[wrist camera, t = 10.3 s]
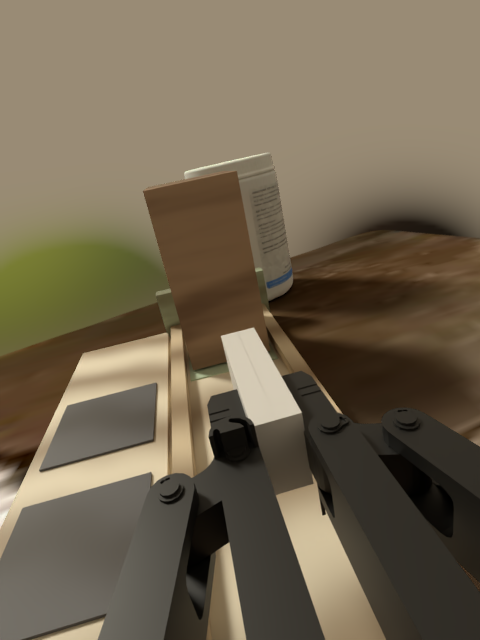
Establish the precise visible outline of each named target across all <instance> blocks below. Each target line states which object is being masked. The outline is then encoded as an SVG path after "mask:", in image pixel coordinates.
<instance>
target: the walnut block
mask: <svg viewBox="0 0 480 640" xmlns="http://www.w3.org/2000/svg"><path fill="white" fill-rule="evenodd" d="M143 193H144V196H145V199H146V203H147V207H148V210H149V214H150V218H151V221H152V224H153V228H154V232H155V235H156V239H157V243H158V246H159V250H160V253H161V257H162V261H163V264H164V268H165V271H166V274H167V278H168V282H169V286H170V289H171V293H172V296H173V300H174V303H175V307H176V311H177V314H178V318H179V321H180V325H181V328H182V332H183V336H184V339H185V343H186V346H187V350H188V353H189V357H190V361H191V364H192V368H193V370H197V369H201V368H205V367H208V366H212V365H216V364H220V363H224V362H227V360H226V355H225V351H224V347H223V343H222V339H221V336H222V335H226V334H230V333H234V332H238V331H242V330H246V329H250V328H254V329H255V331H256V332H257V334H258V336H259V338H260V339H261V341H262V343H263V345H264V346H265V348H266V350H267V351H270V346H269V341H268V335H267V330H266V325H265V319H264V314H263V308H262V303H261V298H260V292H259V287H258V282H257V276H256V271H255V265H254V260H253V255H252V249H251V244H250V238H249V233H248V228H247V222H246V217H245V212H244V206H243V201H242V195H241V190H240V185H239V179H238V174H237V171H221V172H217V173H212V174H207V175H203V176H198V177H194V178H189V179H184V180H180V181H175V182H170V183H166V184H161V185H157V186H152V187H148V188H146V189H145V190H144V191H143Z"/></svg>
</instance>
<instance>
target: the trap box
mask: <svg viewBox="0 0 480 640" xmlns="http://www.w3.org/2000/svg"><path fill="white" fill-rule="evenodd" d="M255 271H256V276H257V282H258V287H259V292H260V298H261V303H262V308H263V314H264V319H265V325H266V330H267V335H268V341H269V346H270V351H267V352H268V354H269V355H270V357H271V359H272V361H273V362H274V364H275V366H276V368H277V369H278V371H279V373H280V375H281V376H283V375H287V374H291V373H295V372H298V371H303V372H305V373H307V374H309V375H311V376H312V377H313V379H314V380H315V382H316V383H317V385H318V386H319V387H320V389H321V391H323V393H324V394H325V396H326V397H327V398H328V400H329V401H330V403H331V404H332V405H333V407H334V408H335V410H336V411H337V412H338V413H341V411H340V410H339V408H338V407H337V406H336V404H335V403H334V401H333V400H332V399H331V397H330V396H329V394H328V393H327V392H326V390H325V389H324V387H323V386H322V385H321V383H320V382H319V380H318V379H317V378H316V376H315V375H314V373H313V372H312V371H311V369H310V368H309V366H308V365H307V364H306V362H305V361H304V359H303V358H302V357H301V355H300V354H299V352H298V351H297V350H296V348H295V347H294V345H293V344H292V343H291V341H290V340H289V338H288V337H287V336H286V334H285V333H284V331H283V330H282V329H281V327H280V326H279V324H278V323H277V322H276V320H275V319H274V317H273V316H272V315H271V313H270V308H269V302H268V296H267V291H266V285H265V280H264V274H263V270H262V269H261V268H260V267H259V268H255ZM156 298H157V301H158V305H159V308H160V311H161V315H162V318H163V321H164V325H165V328H166V331H167V333H164V334H160V335H156V336H152V337H148V338H144V339H140V340H136V341H132V342H128V343H124V344H119V345H115V346H111V347H107V348H103V349H99V350H95V351H91V352H87V353H83V355H82V357H81V359H80V361H79V363H78V366H77V368H76V370H75V372H74V374H73V376H72V378H71V380H70V382H69V385H68V387H67V389H66V391H65V393H64V395H63V397H62V399H61V402H60V404H59V406H58V408H57V410H56V412H55V414H54V416H53V419H52V421H51V423H50V425H49V427H48V429H47V431H46V433H45V436H44V438H43V440H42V442H41V444H40V446H39V448H38V450H37V453H36V455H35V457H34V459H33V461H32V463H31V465H30V467H29V470H28V472H27V474H26V476H25V478H24V480H23V482H22V484H21V487H20V489H19V491H18V493H17V495H16V497H15V499H14V501H13V504H12V506H11V508H10V510H9V512H8V514H7V516H6V518H5V520H4V523H3V525H2V527H1V529H0V640H98V637H99V634H100V631H101V628H102V625H103V622H104V619H105V616H106V614H107V611H108V608H109V605H110V602H111V599H112V596H113V593H114V590H115V587H116V584H117V581H118V578H119V575H120V572H121V569H122V566H123V564H124V561H125V558H126V555H127V552H128V549H129V546H130V543H131V540H132V537H133V534H134V531H135V528H136V525H137V522H138V519H139V516H140V514H141V511H142V508H143V505H144V502H145V499H146V496H147V493H148V492H149V490H150V488H151V486H152V485H154V484H155V483H156V482H157V481H158V480H159V479H161V478H163V477H165V476H166V475H170V474H174V473H184V474H186V475H188V476H190V477H191V478H192V477H194V476H196V475H198V474H199V473H201V472H202V471H204V470H205V469H206V468H207V467H208V466H209V465H210V464H211V462H212V461H213V459H214V454H213V451H212V447H211V444H210V440H209V437H208V436H209V430H210V429H211V425H210V419H209V414H208V408H207V404H208V402H209V400H210V397H211V396H213V395H217V394H221V393H224V392H228V391H232V390H234V389H233V385H232V381H231V376H230V372H229V368H228V364H227V362H224V363H220V364H216V365H212V366H208V367H205V368H201V369H197V370H193V368H192V364H191V361H190V357H189V353H188V350H187V346H186V343H185V339H184V336H183V332H182V328H181V325H180V321H179V318H178V314H177V311H176V307H175V303H174V300H173V296H172V293H171V289H167V290H163V291H159V292H156ZM341 414H342V413H341ZM312 478H313V484H311V485H308V486H304V487H301V488H298V489H294V490H291V491H288V492H284V493H281V494H278V495H276V497H277V500H278V503H279V506H280V509H281V512H282V515H283V518H284V521H285V524H286V526H287V529H288V532H289V535H290V538H291V541H292V544H293V547H294V550H295V553H296V556H297V559H298V561H299V564H300V567H301V570H302V573H303V576H304V579H305V582H306V585H307V588H308V591H309V593H310V596H311V599H312V602H313V605H314V608H315V611H316V614H317V617H318V620H319V623H320V625H321V628H322V631H323V634H324V637H325V640H386V638H385V636H384V634H383V632H382V630H381V627H380V625H379V623H378V621H377V619H376V617H375V615H374V613H373V610H372V608H371V606H370V604H369V602H368V600H367V598H366V595H365V593H364V591H363V589H362V587H361V585H360V583H359V580H358V578H357V576H356V574H355V572H354V570H353V568H352V566H351V563H350V561H349V559H348V557H347V555H346V553H345V551H344V548H343V546H342V544H341V542H340V540H339V538H338V536H337V534H336V531H335V529H334V527H333V525H332V523H331V521H330V519H329V516H328V514H327V512H326V510H325V512H326V515H323V516H322V511H321V505H320V499H319V493H318V486H317V482H316V480H315V478H314V476H313V474H312ZM206 640H246V635H245V629H244V624H243V618H242V612H241V606H240V601H239V595H238V589H237V584H236V578H235V572H234V566H233V561H232V555H231V549H230V543H227V544H226V545H224V546H223V547H221V548H220V549H219V550H217V551H216V561H215V569H214V578H213V586H212V595H211V603H210V612H209V620H208V629H207V637H206Z"/></svg>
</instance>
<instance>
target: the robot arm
mask: <svg viewBox="0 0 480 640" xmlns="http://www.w3.org/2000/svg"><path fill="white" fill-rule="evenodd" d="M221 339H222V343H223V347H224V351H225V355H226V360H227V364H228V368H229V372H230V376H231V381H232V385H233V389H234V390H232V391H228V392H224V393H221V394H217V395H213V396H211V397H210V400H209V402H208V404H207V408H208V414H209V419H210V425H211V429H210V430H209V436H208V437H209V440H210V444H211V447H212V451H213V454H214V459H213V461H212V462H211V464H210V465H209V466H208V467H207V468H206V469H205V470H204V471H202V472H201V473H199V474H198V475H196V476H194V477H192V478H191V477H190V476H188V475H186V474H184V473H174V474H170V475H166V476H165V477H163V478H161V479H159V480H158V481H157V482H156V483H155V484H154V485H152V486H151V488H150V490H149V492H148V493H147V496H146V499H145V502H144V505H143V508H142V511H141V514H140V516H139V519H138V522H137V525H136V528H135V531H134V534H133V537H132V540H131V543H130V546H129V549H128V552H127V555H126V558H125V561H124V564H123V566H122V569H121V572H120V575H119V578H118V581H117V584H116V587H115V590H114V593H113V596H112V599H111V602H110V605H109V608H108V611H107V614H106V616H105V619H104V622H103V625H102V628H101V631H100V634H99V637H98V640H206V637H207V629H208V620H209V612H210V603H211V595H212V586H213V578H214V569H215V561H216V551H217V550H219V549H220V548H221V547H223V546H224V545H226V544H227V543H230V549H231V555H232V561H233V566H234V572H235V578H236V584H237V589H238V595H239V601H240V606H241V612H242V618H243V624H244V629H245V635H246V640H325V637H324V634H323V631H322V628H321V625H320V623H319V620H318V617H317V614H316V611H315V608H314V605H313V602H312V599H311V596H310V593H309V591H308V588H307V585H306V582H305V579H304V576H303V573H302V570H301V567H300V564H299V561H298V559H297V556H296V553H295V550H294V547H293V544H292V541H291V538H290V535H289V532H288V529H287V526H286V524H285V521H284V518H283V515H282V512H281V509H280V506H279V503H278V500H277V497H276V495H278V494H281V493H284V492H288V491H291V490H294V489H298V488H301V487H304V486H308V485H311V484H313V478H312V474H313V476H314V478H315V480H316V482H317V486H318V493H319V499H320V505H321V511H322V516H323V515H326V512H327V514H328V516H329V519H330V521H331V523H332V525H333V527H334V529H335V531H336V534H337V536H338V538H339V540H340V542H341V544H342V546H343V548H344V551H345V553H346V555H347V557H348V559H349V561H350V563H351V566H352V568H353V570H354V572H355V574H356V576H357V578H358V580H359V583H360V585H361V587H362V589H363V591H364V593H365V595H366V598H367V600H368V602H369V604H370V606H371V608H372V610H373V613H374V615H375V617H376V619H377V621H378V623H379V625H380V627H381V630H382V632H383V634H384V636H385V638H386V640H480V592H479V591H478V589H477V588H476V587H475V585H474V584H473V583H472V581H471V580H470V579H469V577H468V576H467V575H466V573H465V572H464V570H463V569H462V568H461V566H460V565H459V564H458V563H460V564H461V565H462V566H463V567H464V568H465V569H466V570H467V571H468V572H469V573H470V574H471V575H472V576H473V577H475V578H476V579H477V580H478V581H479V582H480V447H479V446H478V445H476V444H474V443H473V442H471V441H469V440H468V439H466V438H465V437H463V436H461V435H460V434H458V433H456V432H455V431H453V430H451V429H450V428H448V427H446V426H445V425H443V424H441V423H440V422H438V421H437V420H435V419H433V418H432V417H430V416H428V415H427V414H425V413H423V412H421V411H419V410H416V409H412V408H395V409H392V410H389V411H388V412H386V413H385V414H384V415H383V417H382V420H381V422H382V423H377V424H358V423H353V421H352V420H351V419H350V418H349V417H348V416H346V415H344V414H341V413H338V412H337V411H336V410H335V408H334V407H333V405H332V404H331V403H330V401H329V400H328V398H327V397H326V396H325V394H324V393H323V391H321V389H320V387H319V386H318V385H317V383H316V382H315V380H314V379H313V377H312V376H311V375H309V374H307V373H305V372H303V371H298V372H295V373H291V374H287V375H283V376H281V375H280V373H279V371H278V369H277V368H276V366H275V364H274V362H273V361H272V359H271V357H270V355H269V354H268V352H267V350H266V348H265V346H264V345H263V343H262V341H261V339H260V338H259V336H258V334H257V332H256V331H255V329H254V328H250V329H246V330H242V331H238V332H234V333H230V334H226V335H222V336H221ZM325 510H326V512H325Z"/></svg>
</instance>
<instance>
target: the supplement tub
mask: <svg viewBox="0 0 480 640" xmlns="http://www.w3.org/2000/svg"><path fill="white" fill-rule="evenodd" d="M221 171H237V174H238V179H239V185H240V190H241V195H242V201H243V206H244V212H245V217H246V222H247V228H248V233H249V238H250V244H251V249H252V255H253V260H254V265H255V268H259V267H260V268H261V269H262V270H263V274H264V280H265V285H266V291H267V296H268V301H270V300H273V299H275V298H277V297H280V296H281V295H283V294H285V293H286V292H287V291H288V290H289V289H290V288H291V286H292V284H293V274H292V268H291V261H290V255H289V250H288V243H287V237H286V232H285V225H284V219H283V213H282V207H281V201H280V195H279V189H278V183H277V177H276V172H275V170H274V165H273V162H272V156H271V153H264V154H259V155H254V156H249V157H245V158H240V159H236V160H231V161H227V162H223V163H219V164H214V165H210V166H206V167H202V168H197V169H193V170H189V171H186V172H185V173H184V175H185V179H189V178H194V177H198V176H203V175H207V174H212V173H217V172H221Z"/></svg>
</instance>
